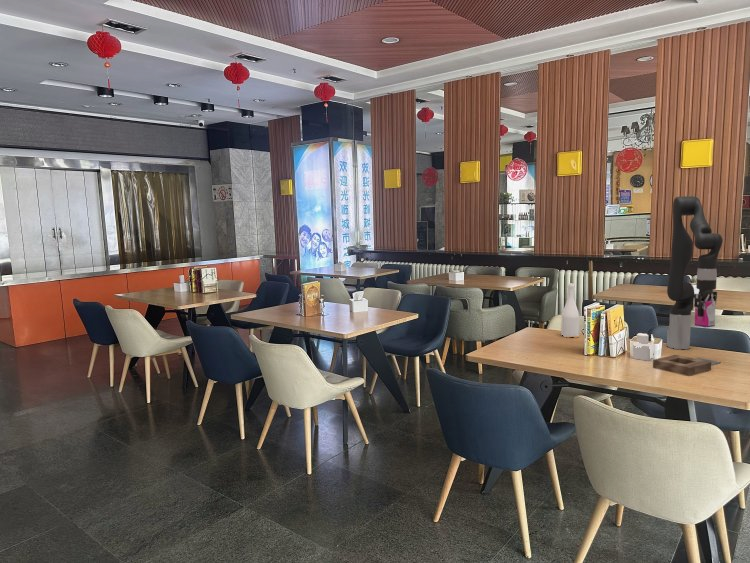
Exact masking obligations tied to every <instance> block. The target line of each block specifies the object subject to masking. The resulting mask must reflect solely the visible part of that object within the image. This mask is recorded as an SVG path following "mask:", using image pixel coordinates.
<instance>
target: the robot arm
mask: <svg viewBox="0 0 750 563" xmlns="http://www.w3.org/2000/svg"><path fill="white" fill-rule="evenodd" d="M701 202H702V201H700V198H699V197H698V196H693V195H692V196H691V195H690V196H689V195H688V196H685V195H684V196H676V197H674V199H673V202H672V238H671V250H670V266H669V267H670V268H669V274H668V275H669V276H668V282H667V288H666V293H667V296H668V297H667V298H669V300H670V301H672V302H675V303H674V305H673V306H671V307H670V309H669V324H668V325H669V326H668V328H667V332H666V347H667V346H668V348H670V349H673V348H674V350H681V349H685V350H689V348H691V347H690V346H691V325H692V324H691V323H692V319H691V318H692V311H693V309H694V308H695V307H697V308H698V316H699V317H703V316H704V309H703V308H704V304H705V302H707V301H716V302H715V306H716V305H717V300H718V299H717V298H718V292H717V291H714V290H716V289H717V279H718V278H717V277H718V273H717V262H718V261H717V260H718V258H719V257H718V256H719V253H720V251H721V248H722V245H723V241H724V240H723V236H722V235H721V234H719V233H715V232H714V233H712V231H713V230H712V228H711V226H710V224H709V223H708V221H707V219H706V216H705V213H704V209H703V206H702V203H701ZM683 216H685V217H686V216H692V219H691V220H690V223H689V227H690V230H691V232H692V233H693V234H692V235H693V237H694V242H693V239H692V237H691V236H690V234H689V233H688V231H687V230H686V228H685V226H684V222H683ZM694 247H695V248H696V249H698V250H709V252H708V253H706V254H700V255H699V256H698V259H697V270H696V271H697V272H696V284H695V285H696V287H695V288H696V289H697V290H698V293H695V288H694V286H693V285H692V283H691V282H689V281H684V280H685V273H686V270H687V268H688V267H689V265H690V263H691V262H692V261H691V260H692V258H693V254H694ZM697 302H698V304H697Z"/></svg>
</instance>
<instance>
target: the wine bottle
mask: <svg viewBox="0 0 750 563" xmlns="http://www.w3.org/2000/svg"><path fill="white" fill-rule="evenodd" d="M575 286H576V285H575V283H574V282H573V283H571V282H570V283H569V282H568V283H567V298H566V302H565V305H564V307H563V310H562V313H561V324H560V325H561V327H560V330H561V336H562V335H563V336H569V337H572V336H579V337H580V322H581V321H580V311H579V310H578V307H577V304H576V300H575ZM563 336H562V337H563Z"/></svg>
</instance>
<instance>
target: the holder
mask: <svg viewBox="0 0 750 563" xmlns="http://www.w3.org/2000/svg"><path fill="white" fill-rule="evenodd" d="M711 363H712V362H708V361H703V360H699V359H695V358H694V357H690V356H683V355H678V354H672V355H668V356H667V355H666V356H664V357H663V356H662V357H659V358H653V359H652V368H653V369H657V370H662V371H665V372H666V371H667V372H670V373H674V374H678V375H683V376H688V377H690V376H695V375H698V374H702V373H706V372H709V371H711V370H712V365H711Z"/></svg>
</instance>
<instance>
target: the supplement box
mask: <svg viewBox="0 0 750 563" xmlns="http://www.w3.org/2000/svg"><path fill="white" fill-rule="evenodd" d="M715 302H716V303H717V300H716V301H707V302H705V304H704V308H703V309H704V316H703V317H699V316H698V308H697V307H695V306H694V326H697V327H702V328H711V327H715V326H716V305H715ZM697 304H698V302H697Z"/></svg>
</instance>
